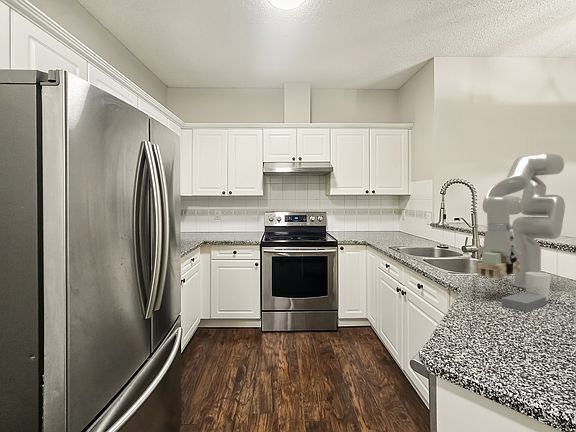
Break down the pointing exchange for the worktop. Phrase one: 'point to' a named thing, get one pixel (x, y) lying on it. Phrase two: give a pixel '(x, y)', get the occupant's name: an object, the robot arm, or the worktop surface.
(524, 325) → the worktop surface
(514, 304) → the dock
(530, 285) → the white cup
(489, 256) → the pale green block
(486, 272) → the long beige board
